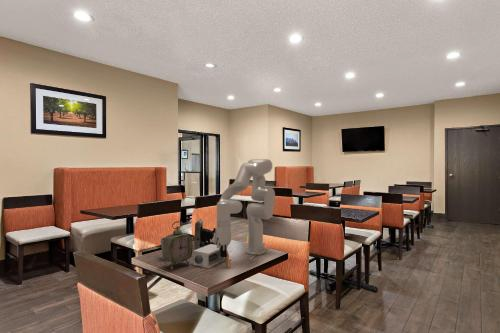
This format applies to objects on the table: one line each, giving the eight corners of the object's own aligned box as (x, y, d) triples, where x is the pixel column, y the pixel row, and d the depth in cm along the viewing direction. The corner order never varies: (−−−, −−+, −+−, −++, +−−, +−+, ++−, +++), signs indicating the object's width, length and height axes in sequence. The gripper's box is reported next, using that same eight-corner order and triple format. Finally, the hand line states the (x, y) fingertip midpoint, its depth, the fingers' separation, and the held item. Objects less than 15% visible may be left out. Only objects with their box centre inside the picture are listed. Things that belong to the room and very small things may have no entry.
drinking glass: (173, 261, 171) (173, 240, 171) (157, 260, 173) (157, 240, 173) (180, 256, 181) (180, 236, 181) (165, 255, 183) (165, 236, 183)
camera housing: (210, 257, 179) (210, 244, 179) (225, 260, 174) (225, 246, 174) (191, 265, 164) (191, 251, 164) (207, 269, 158) (207, 254, 158)
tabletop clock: (170, 271, 155) (170, 224, 155) (161, 267, 161) (161, 222, 161) (192, 264, 166) (192, 220, 166) (183, 261, 172) (182, 218, 172)
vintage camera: (217, 253, 189) (218, 222, 189) (193, 252, 189) (194, 221, 190) (219, 249, 199) (220, 219, 199) (196, 248, 199) (197, 218, 200)
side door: (225, 259, 173) (225, 248, 173) (228, 259, 173) (228, 247, 173) (227, 268, 159) (227, 255, 159) (231, 267, 159) (231, 255, 159)
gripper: (225, 221, 172) (225, 252, 172) (209, 225, 159) (209, 259, 159) (236, 222, 168) (236, 254, 168) (220, 226, 155) (220, 261, 155)
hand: (223, 256), depth 163 cm, fingers closed
